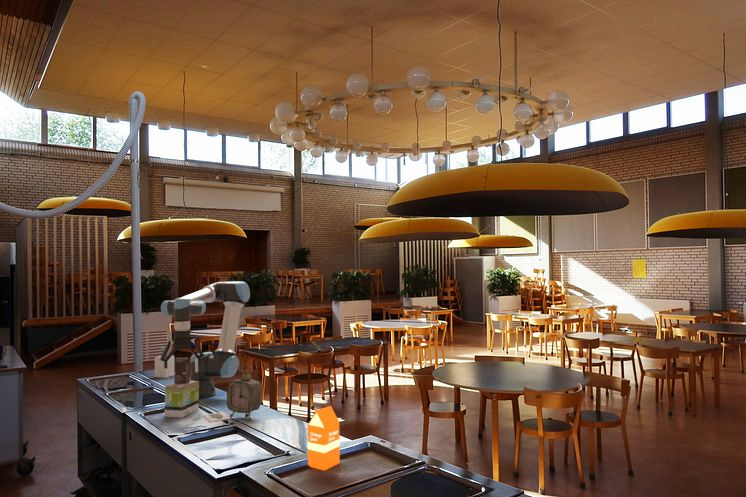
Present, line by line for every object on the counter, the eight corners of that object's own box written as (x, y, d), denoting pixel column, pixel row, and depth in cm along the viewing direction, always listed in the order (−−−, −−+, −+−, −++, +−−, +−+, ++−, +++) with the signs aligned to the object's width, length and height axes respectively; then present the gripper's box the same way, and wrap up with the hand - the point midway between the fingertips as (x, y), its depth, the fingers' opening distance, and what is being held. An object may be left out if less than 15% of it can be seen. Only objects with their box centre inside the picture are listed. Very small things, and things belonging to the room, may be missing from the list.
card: (223, 412, 268) (223, 411, 268) (231, 418, 257) (231, 417, 257) (202, 415, 263) (202, 414, 263) (210, 422, 252) (210, 421, 252)
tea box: (183, 418, 259) (183, 386, 260) (164, 417, 261) (164, 385, 262) (199, 409, 274) (199, 380, 275) (181, 409, 276) (181, 379, 277)
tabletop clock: (225, 417, 257) (228, 363, 258) (238, 413, 265) (240, 361, 266) (250, 422, 250) (252, 367, 252) (262, 418, 258) (265, 364, 260)
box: (174, 383, 266) (174, 358, 267) (178, 381, 271) (178, 357, 271) (185, 384, 265) (185, 359, 266) (190, 382, 270) (190, 357, 270)
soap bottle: (163, 374, 364) (163, 345, 365) (174, 375, 361) (174, 346, 362) (154, 377, 356) (154, 347, 357) (165, 377, 353) (165, 348, 354)
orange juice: (307, 466, 196) (307, 409, 196) (323, 458, 203) (322, 404, 203) (324, 470, 191) (324, 412, 192) (340, 462, 199) (339, 407, 199)
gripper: (156, 332, 259) (156, 377, 258) (210, 328, 272) (210, 371, 272) (153, 330, 265) (153, 375, 265) (205, 327, 279) (205, 369, 278)
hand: (182, 373), depth 268 cm, fingers open, 13 cm apart
